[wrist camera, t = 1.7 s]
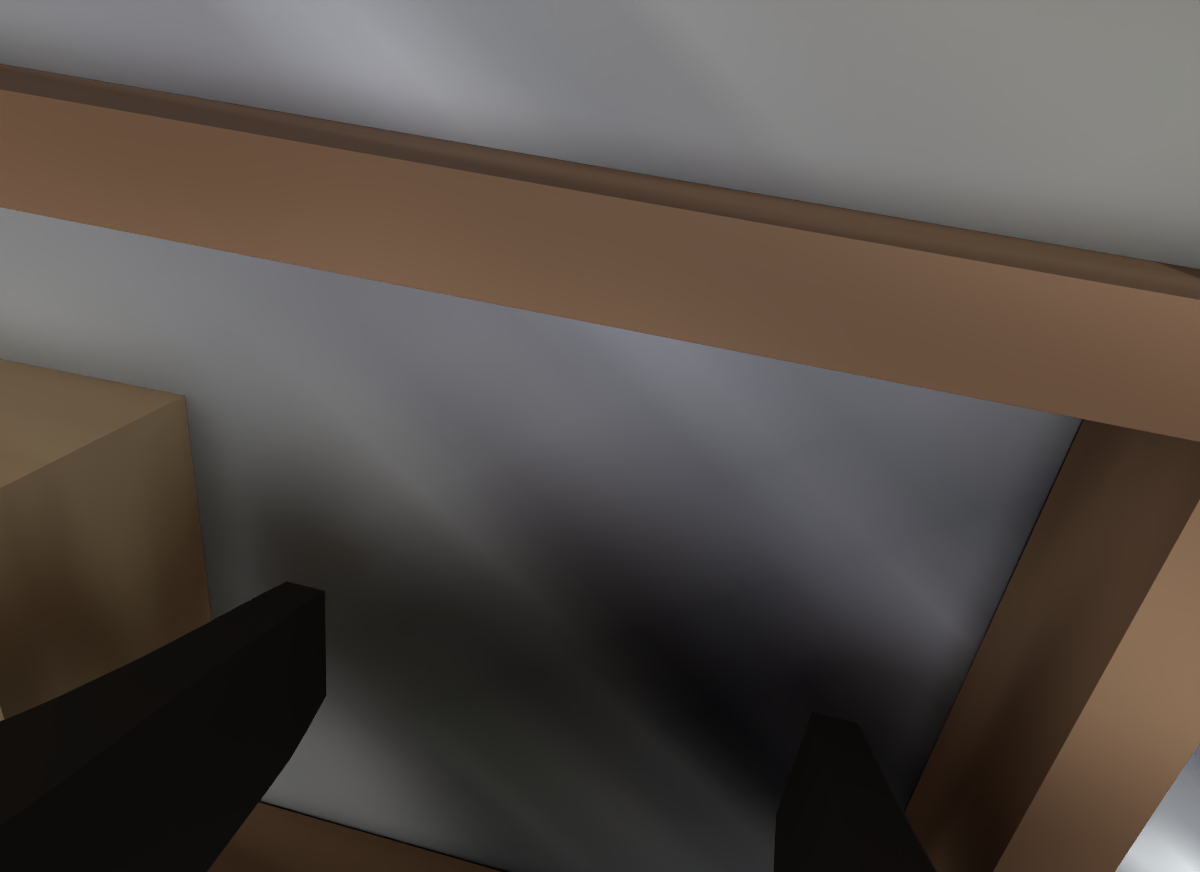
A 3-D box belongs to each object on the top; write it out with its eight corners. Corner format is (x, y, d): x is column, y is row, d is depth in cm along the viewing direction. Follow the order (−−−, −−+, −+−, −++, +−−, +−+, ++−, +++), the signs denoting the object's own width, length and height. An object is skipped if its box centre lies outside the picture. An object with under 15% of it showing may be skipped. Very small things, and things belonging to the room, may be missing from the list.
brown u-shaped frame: (880, 1022, 14) (903, 1192, 12) (-138, 725, 17) (-275, 820, 15) (1269, 281, 8) (1461, 345, 6) (-407, -6, 11) (-711, -35, 9)
